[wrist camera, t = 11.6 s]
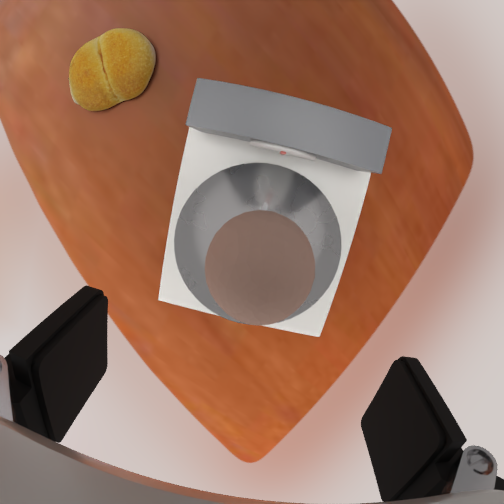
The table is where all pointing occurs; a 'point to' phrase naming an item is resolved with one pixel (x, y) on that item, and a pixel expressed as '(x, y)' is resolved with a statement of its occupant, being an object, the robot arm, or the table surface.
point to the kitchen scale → (278, 153)
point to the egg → (260, 267)
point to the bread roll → (111, 69)
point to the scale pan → (250, 199)
